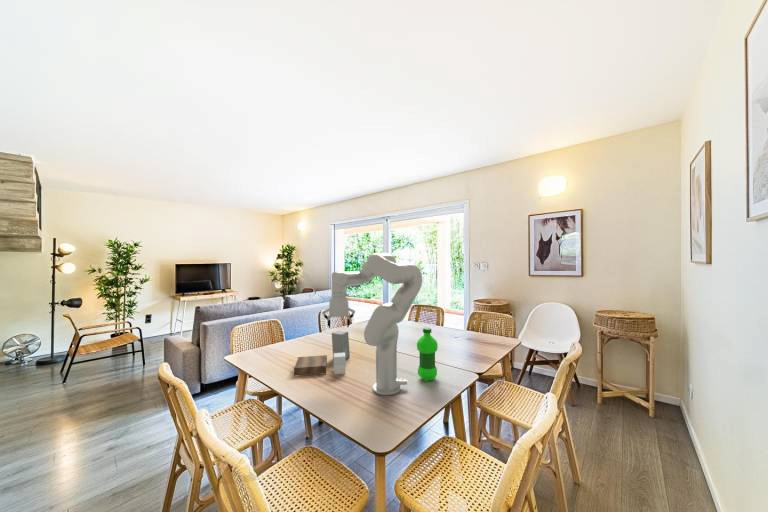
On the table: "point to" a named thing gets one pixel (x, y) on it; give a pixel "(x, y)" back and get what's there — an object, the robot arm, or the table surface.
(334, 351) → the skincare box
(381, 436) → the table surface
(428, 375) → the plastic bottle
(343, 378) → the table surface
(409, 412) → the table surface
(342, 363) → the white rectangular block
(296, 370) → the walnut stand
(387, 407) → the table surface
